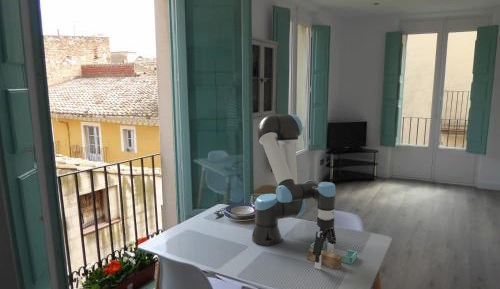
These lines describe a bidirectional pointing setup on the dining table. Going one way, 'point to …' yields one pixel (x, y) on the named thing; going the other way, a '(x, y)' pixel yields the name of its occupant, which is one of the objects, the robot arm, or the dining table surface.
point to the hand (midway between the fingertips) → (324, 262)
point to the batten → (326, 258)
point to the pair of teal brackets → (345, 259)
